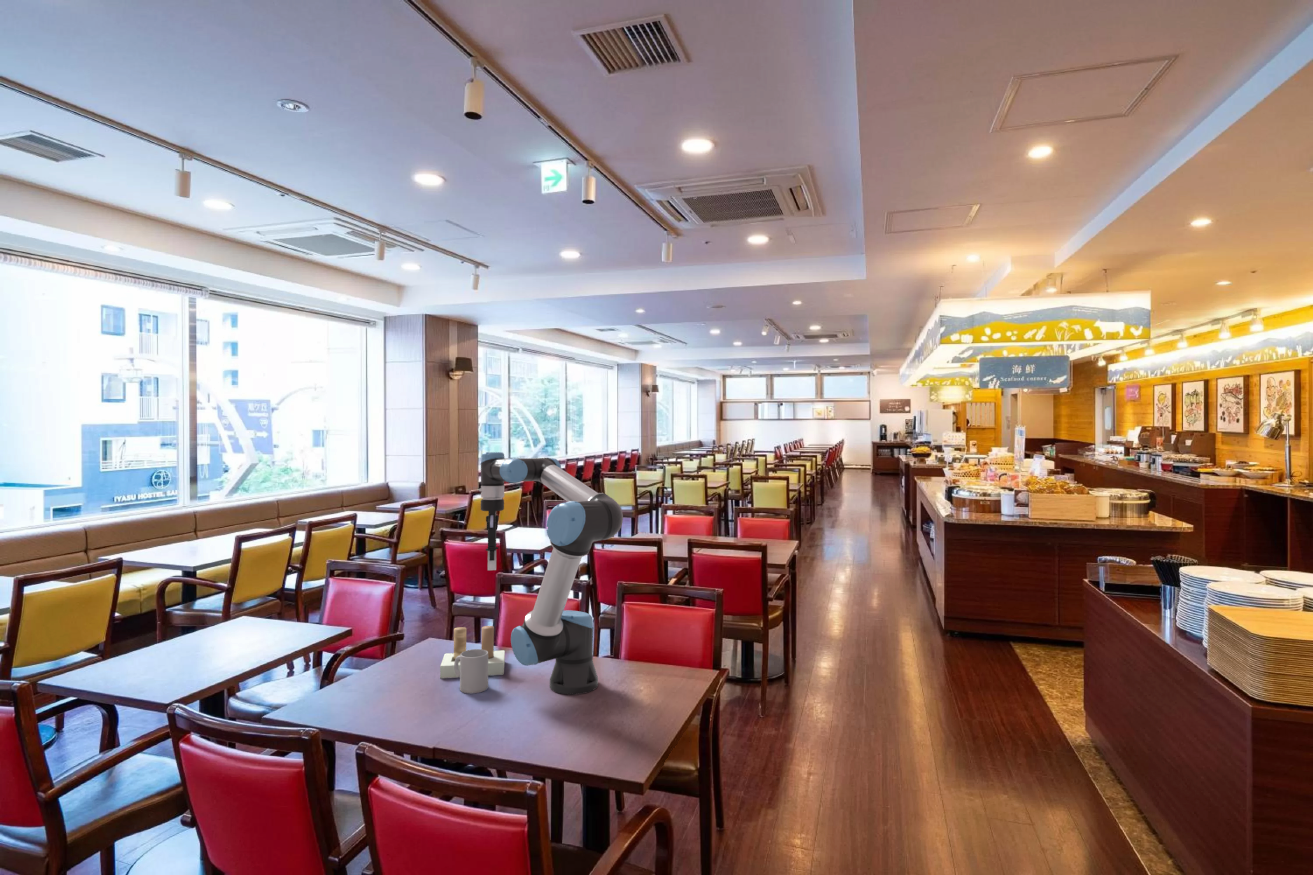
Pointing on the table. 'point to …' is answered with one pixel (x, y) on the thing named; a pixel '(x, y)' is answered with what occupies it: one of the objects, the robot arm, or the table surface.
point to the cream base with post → (487, 643)
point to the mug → (472, 670)
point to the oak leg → (459, 641)
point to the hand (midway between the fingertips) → (491, 569)
